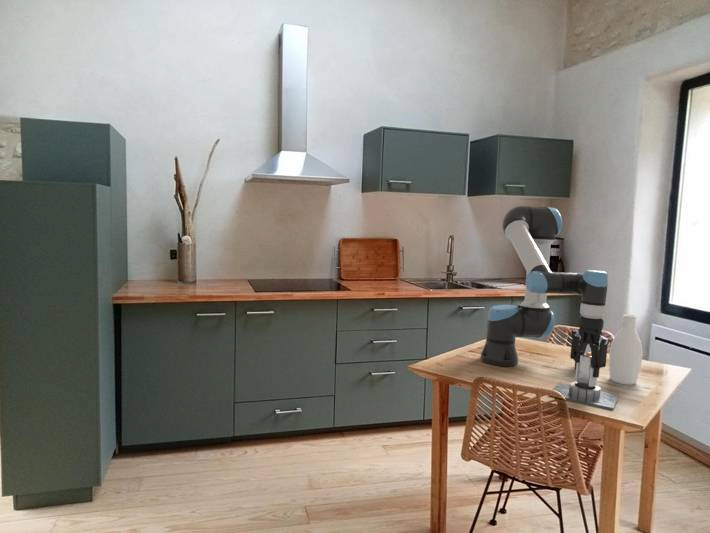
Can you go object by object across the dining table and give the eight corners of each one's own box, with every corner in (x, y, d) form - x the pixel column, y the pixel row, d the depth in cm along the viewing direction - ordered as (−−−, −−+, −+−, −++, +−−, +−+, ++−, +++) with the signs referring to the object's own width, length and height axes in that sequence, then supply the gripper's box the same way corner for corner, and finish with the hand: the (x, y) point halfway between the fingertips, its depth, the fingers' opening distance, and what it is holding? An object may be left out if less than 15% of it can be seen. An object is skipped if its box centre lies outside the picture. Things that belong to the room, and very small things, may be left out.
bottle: (638, 388, 196) (645, 319, 193) (605, 381, 202) (611, 315, 199) (640, 380, 205) (647, 315, 203) (608, 374, 211) (615, 311, 209)
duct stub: (585, 393, 179) (589, 355, 178) (573, 388, 184) (577, 351, 182) (596, 391, 182) (600, 353, 180) (583, 386, 186) (587, 350, 185)
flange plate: (548, 396, 182) (549, 385, 181) (558, 384, 195) (559, 374, 195) (613, 410, 171) (614, 398, 171) (619, 397, 184) (620, 386, 184)
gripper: (623, 321, 174) (616, 390, 176) (577, 310, 190) (571, 374, 192) (607, 322, 171) (600, 393, 173) (562, 311, 186) (556, 376, 189)
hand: (585, 383), depth 183 cm, fingers closed on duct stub, 5 cm apart
